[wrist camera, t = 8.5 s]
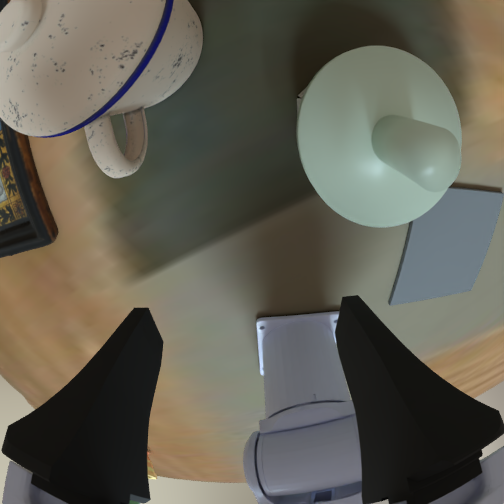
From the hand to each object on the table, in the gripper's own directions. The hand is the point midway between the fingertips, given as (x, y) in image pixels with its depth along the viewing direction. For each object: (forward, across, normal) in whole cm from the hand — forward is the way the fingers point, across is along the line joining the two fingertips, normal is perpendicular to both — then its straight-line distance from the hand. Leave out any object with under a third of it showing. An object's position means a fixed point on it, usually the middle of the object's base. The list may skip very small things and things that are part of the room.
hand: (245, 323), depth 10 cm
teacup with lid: (+11, +6, -10) cm, 16 cm away
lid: (+7, -8, -5) cm, 12 cm away
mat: (+10, -19, +4) cm, 22 cm away
